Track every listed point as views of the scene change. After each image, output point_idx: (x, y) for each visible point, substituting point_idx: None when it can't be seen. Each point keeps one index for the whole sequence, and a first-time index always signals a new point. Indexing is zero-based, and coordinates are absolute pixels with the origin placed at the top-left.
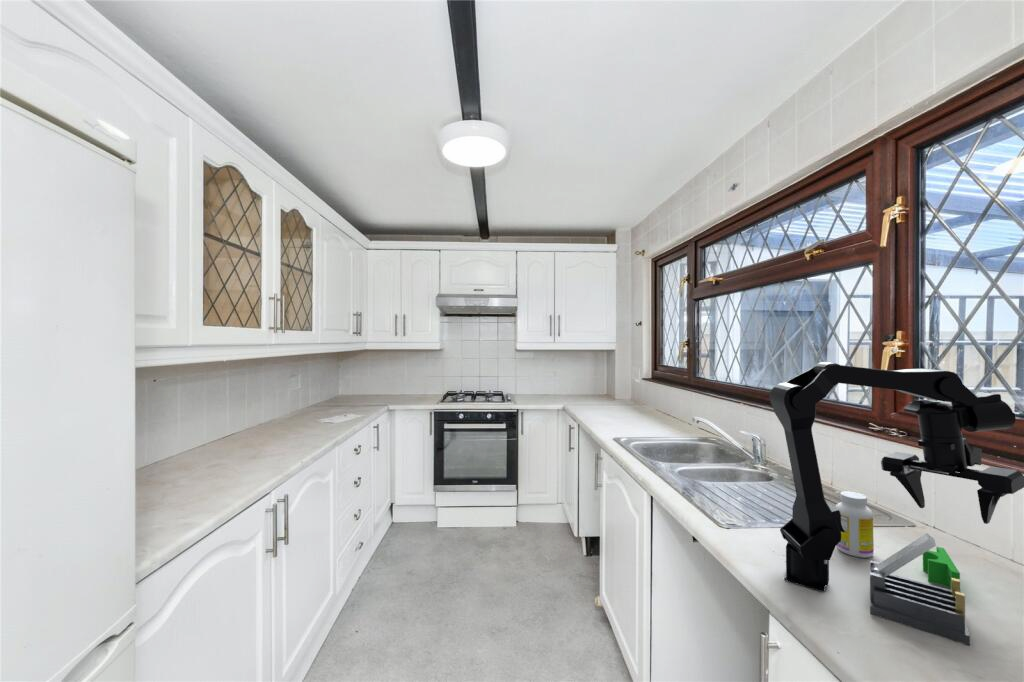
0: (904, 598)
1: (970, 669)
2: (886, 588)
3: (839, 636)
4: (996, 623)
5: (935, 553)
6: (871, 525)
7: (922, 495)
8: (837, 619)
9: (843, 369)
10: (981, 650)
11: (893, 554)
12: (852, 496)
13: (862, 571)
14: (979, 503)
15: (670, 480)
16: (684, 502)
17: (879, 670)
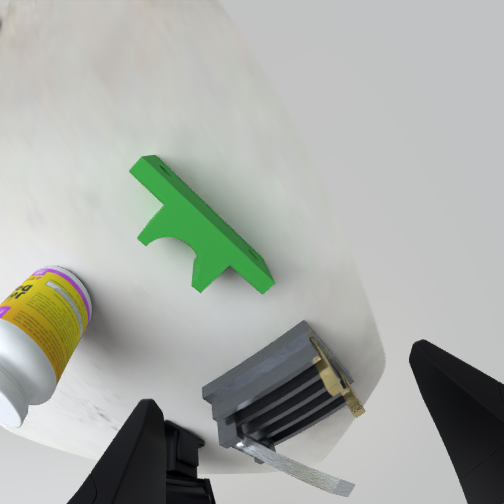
0: (297, 432)
1: (363, 398)
2: (268, 436)
3: None
4: (340, 289)
5: (167, 227)
6: (55, 339)
7: (142, 460)
8: None
9: None
10: (358, 367)
11: (266, 462)
12: (6, 417)
13: (145, 357)
14: (452, 463)
15: None
16: None
17: (325, 454)
